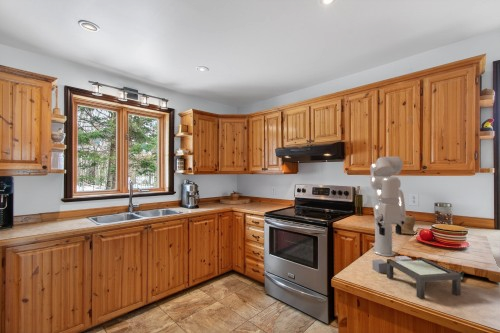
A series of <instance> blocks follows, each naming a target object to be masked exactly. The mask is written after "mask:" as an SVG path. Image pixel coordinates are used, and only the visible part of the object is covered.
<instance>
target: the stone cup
mask: <svg viewBox="0 0 500 333" xmlns="http://www.w3.org/2000/svg"><path fill="white" fill-rule="evenodd" d="M405 218H406V219H405V221H404V224H403V226H402V227H401V235H415V234H414V233H415V232H416V231H415V230H414V227H415V224H416V218H415V217H414V216H411V215H406V216H405Z"/></svg>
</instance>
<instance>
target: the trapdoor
mask: <svg viewBox="0 0 500 333" xmlns="http://www.w3.org/2000/svg"><path fill="white" fill-rule="evenodd" d="M394 256H395V255H394ZM394 261H395V262H397V263H399V264H401V265H403V266H405V267H406V268H408V269H410V270H412V271H414V272H416V273H418V274H420V275H427V274H441V273H447V272H445V271H442V270H440V269H438V268H436V267H434V266H432V265H430V264H428V263H425V262H423V261H421V260H418V259H416V260H413V259H412V258H411V257H409V256H407V255H398V256H397V255H396V256H395V257H394Z"/></svg>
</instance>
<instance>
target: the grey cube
mask: <svg viewBox="0 0 500 333" xmlns="http://www.w3.org/2000/svg"><path fill="white" fill-rule="evenodd" d="M372 270H373V271H375V272H376V273H378V274H385V273H386V274H387V261H384V260H383V259H372Z"/></svg>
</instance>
